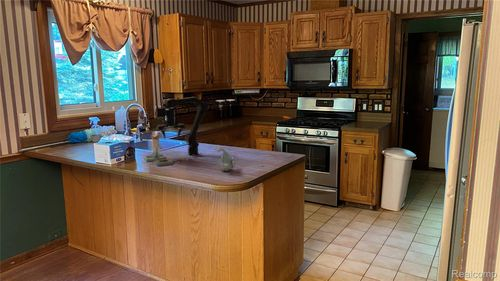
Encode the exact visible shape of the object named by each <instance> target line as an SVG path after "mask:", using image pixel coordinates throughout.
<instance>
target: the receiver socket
mask: <svg viewBox="0 0 500 281" xmlns="http://www.w3.org/2000/svg"><path fill="white" fill-rule="evenodd" d="M154 163H155V165H156V166H157V167H163V166H172V165H173V164H174V163H173V161H172V160H171V159H170V158H167V159H163V160H155V161H154Z"/></svg>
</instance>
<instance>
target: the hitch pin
mask: <svg viewBox="0 0 500 281" xmlns="http://www.w3.org/2000/svg"><path fill="white" fill-rule="evenodd" d="M150 137H151V139H152V140H151V141H152V142H151V143H152V144H151V145H152V155H153V158H160V155H161V154H160V140H159V139H160V137H161V136H160V135H159V134H153V135H152V134H151V135H150Z"/></svg>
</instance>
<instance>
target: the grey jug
mask: <svg viewBox="0 0 500 281" xmlns="http://www.w3.org/2000/svg"><path fill="white" fill-rule="evenodd" d="M216 152H217V153H221V152H222V155H220V162H219V161H218V164H220V165H219V169H222V170H223V171H225V172H228V171H230V170H231V169H232V168H235V166H236V165H235V162H236V161H235V159H234V156H231V154H229V152H228V151H227V150H225V149H224V148H222V147H221V146H218V147H217V149H216Z"/></svg>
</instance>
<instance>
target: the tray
mask: <svg viewBox="0 0 500 281" xmlns="http://www.w3.org/2000/svg"><path fill="white" fill-rule="evenodd" d="M159 155H160V158H153V154H152V155H144V160H145V161H146V162H147V163H148V161H149V162H155V160H163V159H168V157H167V156H166V155H165V154H164V153H162V154H159Z"/></svg>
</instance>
